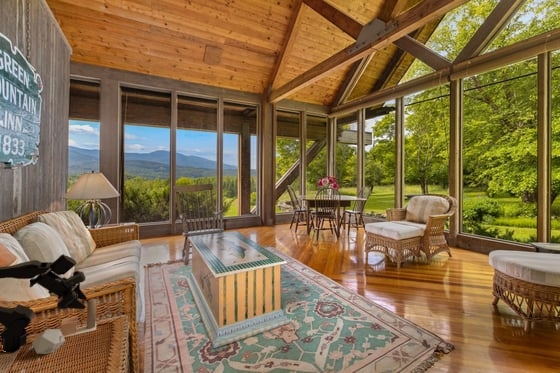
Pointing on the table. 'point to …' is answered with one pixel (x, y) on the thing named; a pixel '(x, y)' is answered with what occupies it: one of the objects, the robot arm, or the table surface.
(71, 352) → the table surface
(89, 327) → the peg stand
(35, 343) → the die
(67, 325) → the cube
